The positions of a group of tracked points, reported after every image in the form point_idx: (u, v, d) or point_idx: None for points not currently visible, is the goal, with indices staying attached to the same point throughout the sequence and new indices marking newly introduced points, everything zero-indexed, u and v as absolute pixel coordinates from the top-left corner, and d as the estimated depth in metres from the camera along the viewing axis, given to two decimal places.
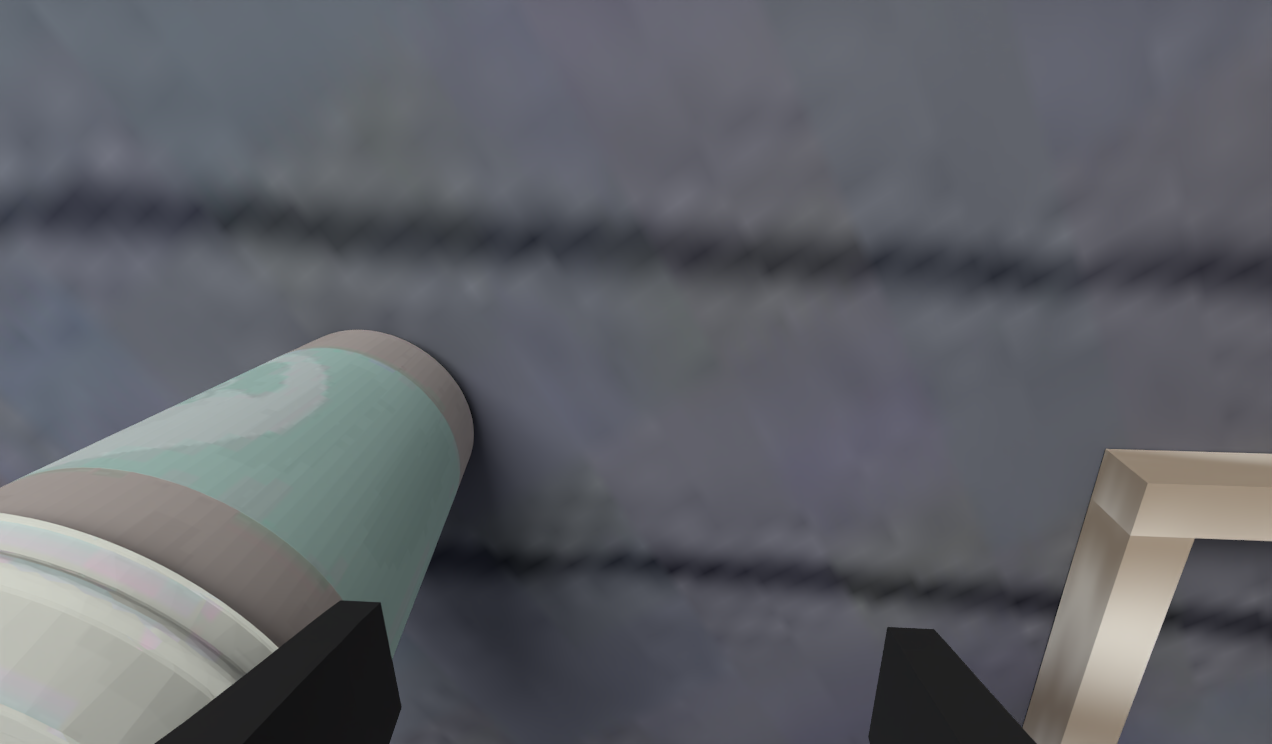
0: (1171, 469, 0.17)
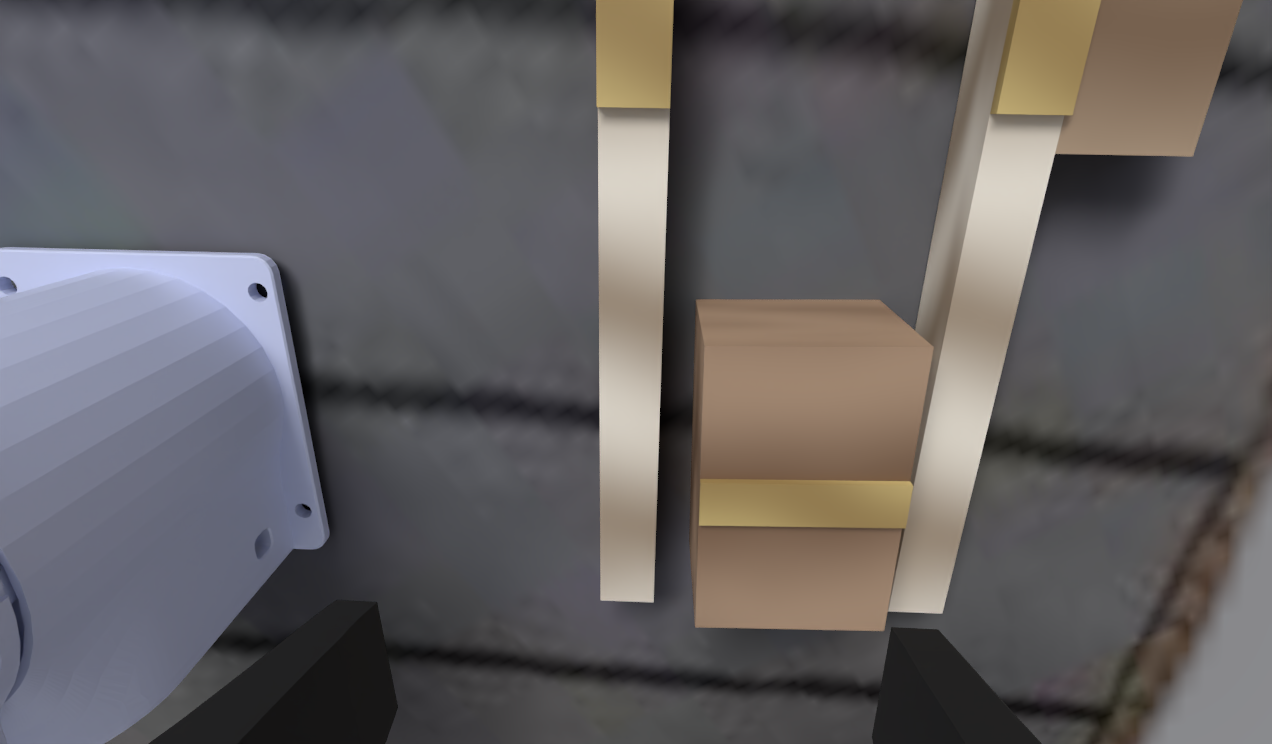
0: None
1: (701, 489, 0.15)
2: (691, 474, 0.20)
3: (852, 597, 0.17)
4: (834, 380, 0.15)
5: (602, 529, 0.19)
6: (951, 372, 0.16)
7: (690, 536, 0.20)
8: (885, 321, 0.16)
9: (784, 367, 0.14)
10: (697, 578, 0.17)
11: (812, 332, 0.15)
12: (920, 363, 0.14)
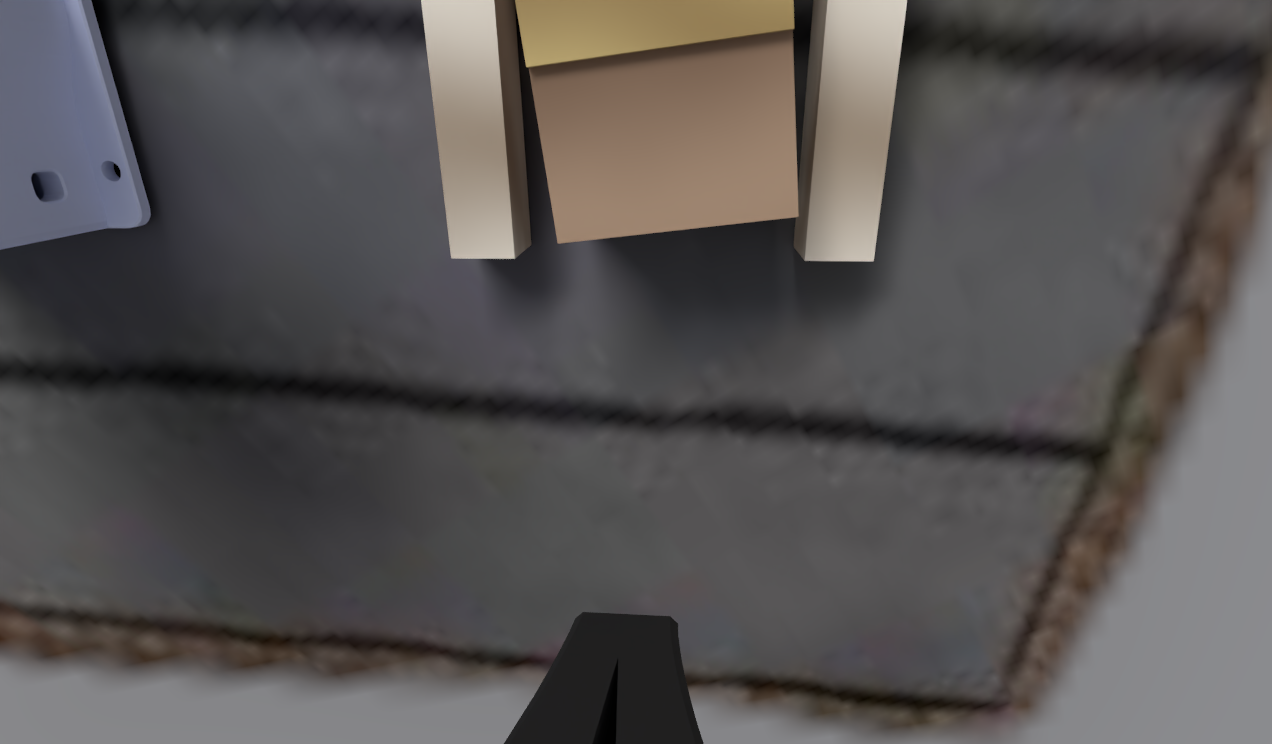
0: None
1: (517, 5, 0.12)
2: None
3: (747, 166, 0.13)
4: None
5: (441, 148, 0.15)
6: None
7: None
8: None
9: None
10: (545, 163, 0.13)
11: None
12: None
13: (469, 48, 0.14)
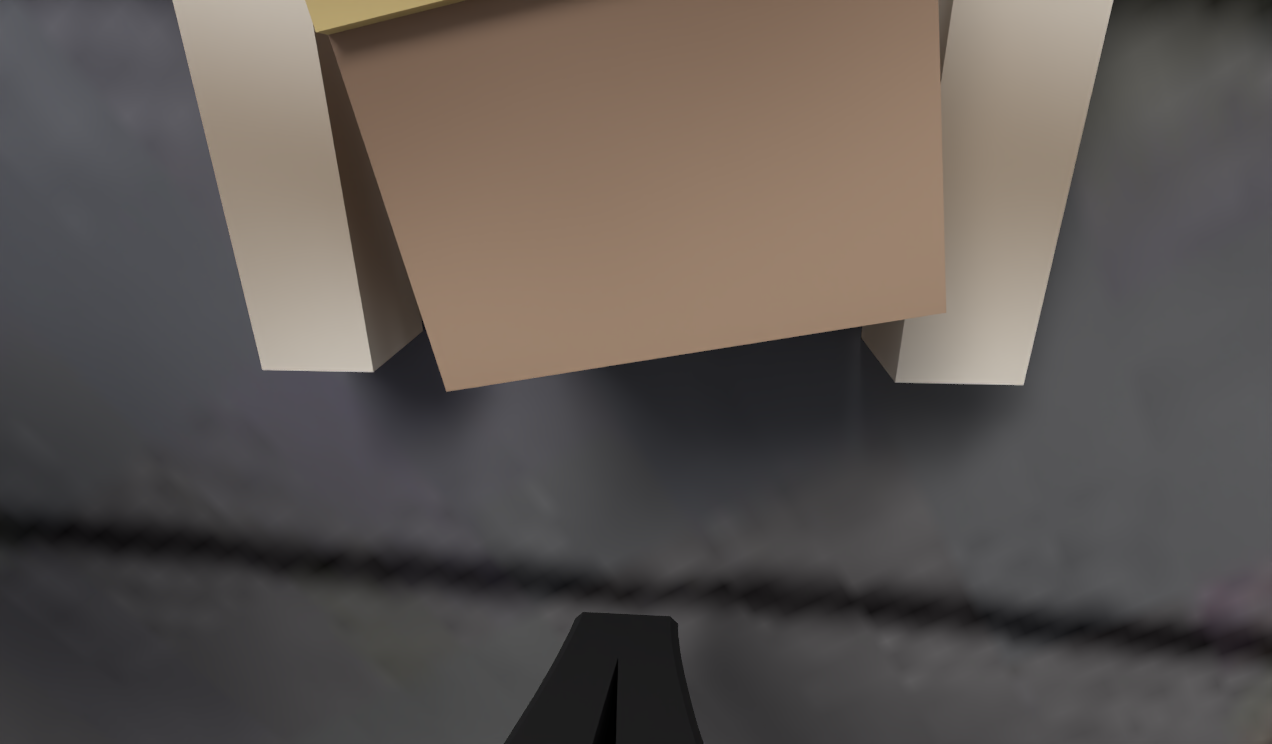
0: None
1: None
2: None
3: (831, 214, 0.06)
4: None
5: (221, 179, 0.08)
6: None
7: None
8: None
9: None
10: (397, 238, 0.06)
11: None
12: None
13: None
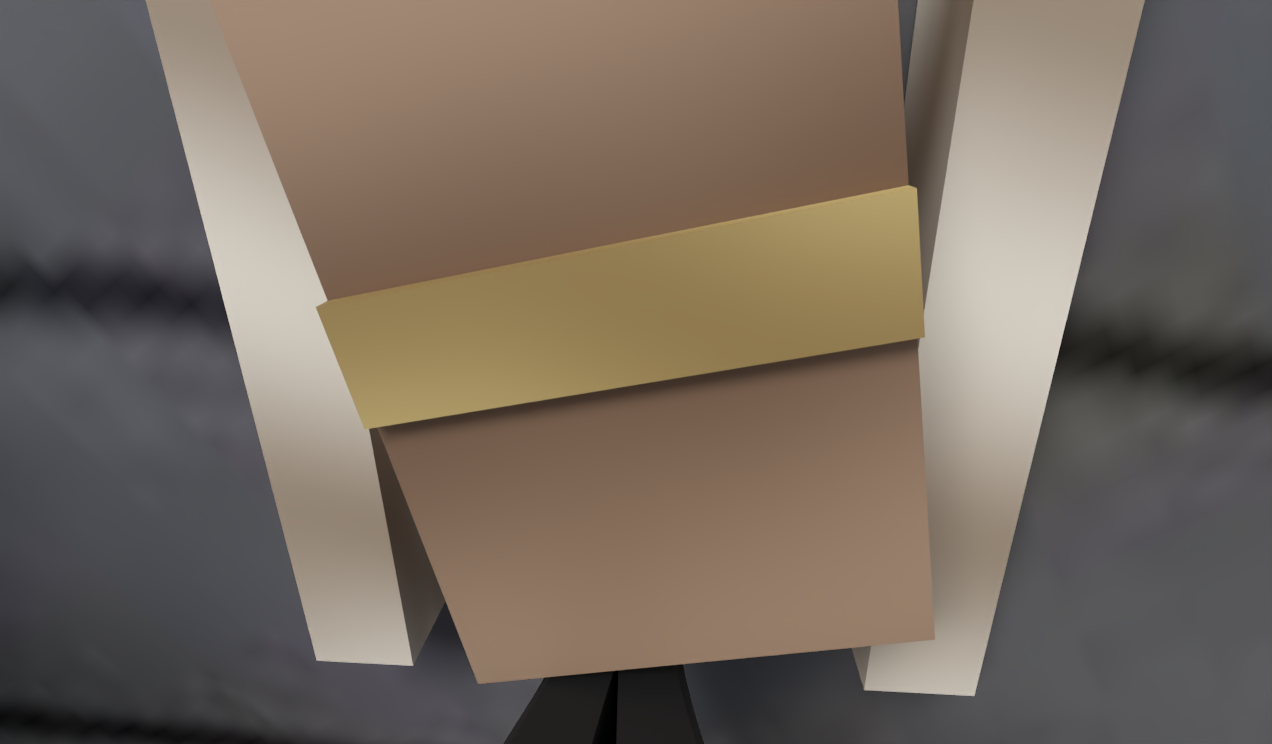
0: None
1: (326, 325, 0.06)
2: None
3: (828, 564, 0.06)
4: None
5: (286, 527, 0.09)
6: (984, 150, 0.07)
7: None
8: None
9: None
10: (434, 569, 0.07)
11: None
12: None
13: (317, 398, 0.09)
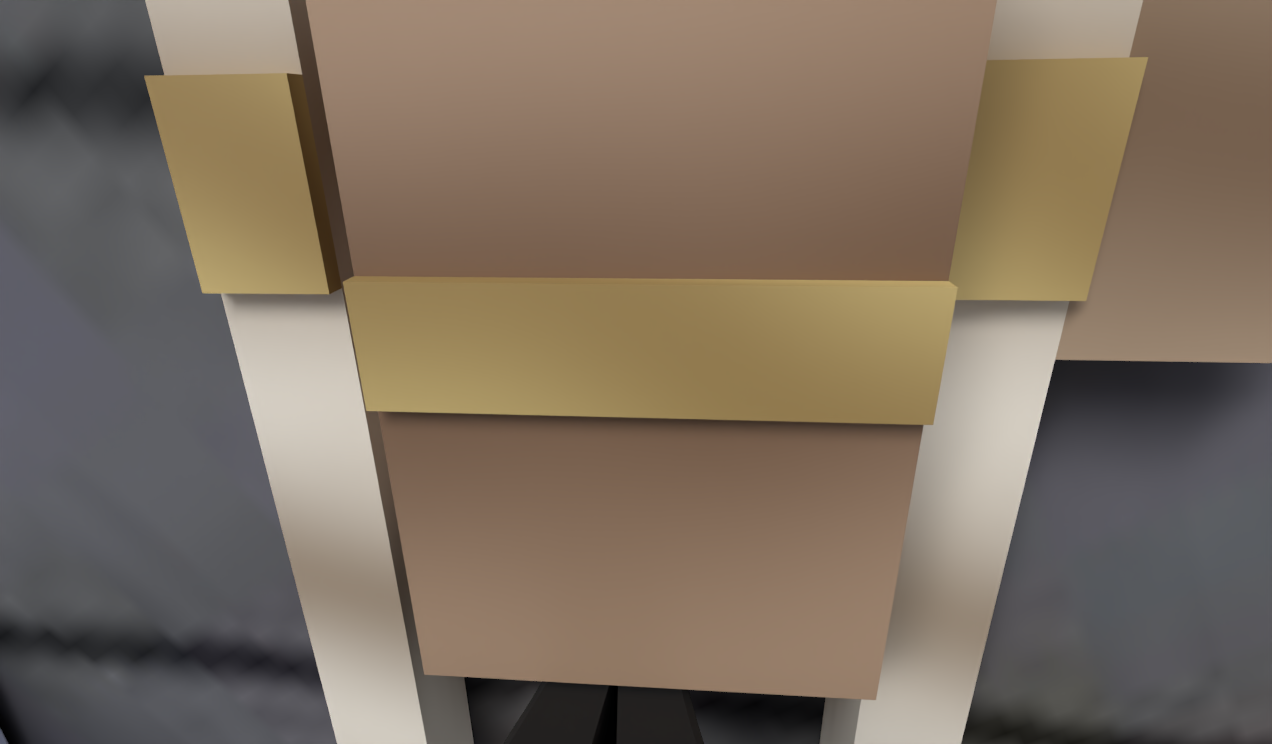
0: None
1: (349, 301, 0.06)
2: None
3: (793, 615, 0.07)
4: None
5: None
6: (887, 688, 0.10)
7: None
8: None
9: None
10: (405, 557, 0.07)
11: None
12: None
13: None
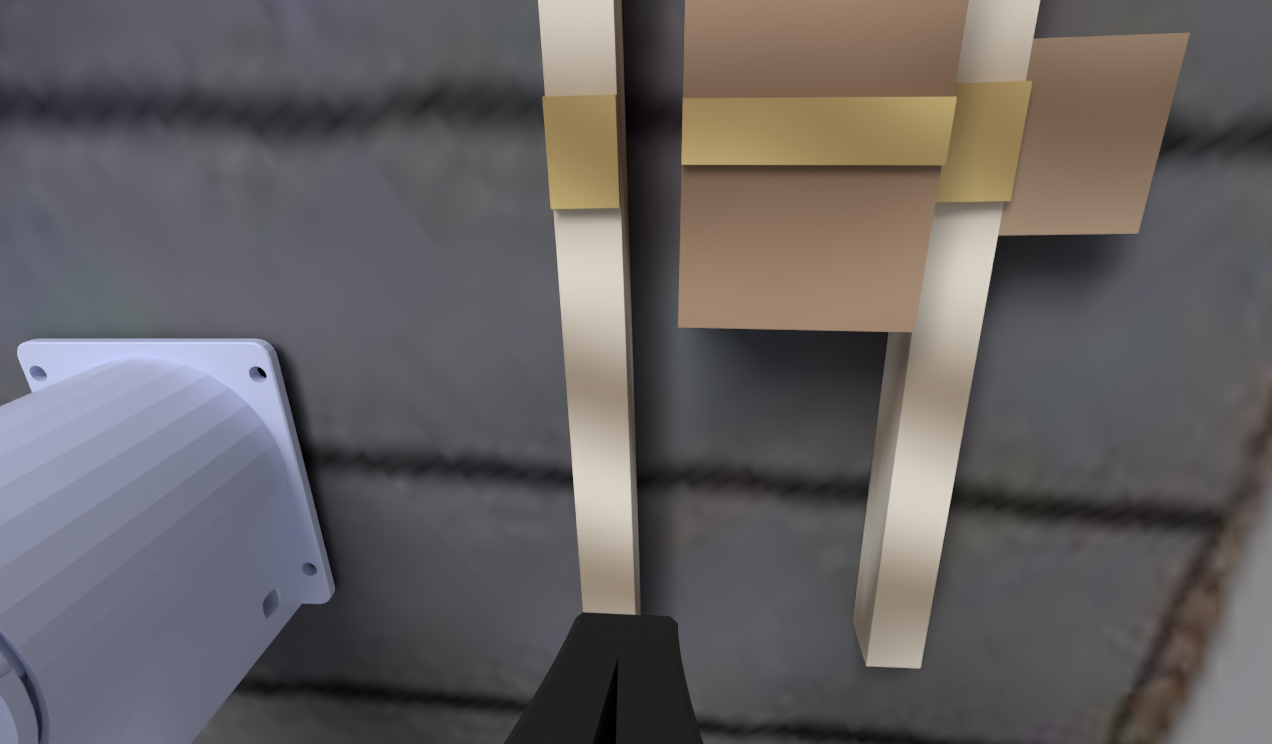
0: None
1: (684, 108, 0.12)
2: None
3: (874, 280, 0.13)
4: None
5: (583, 589, 0.19)
6: (911, 441, 0.17)
7: None
8: None
9: None
10: (680, 253, 0.14)
11: None
12: None
13: (610, 532, 0.19)
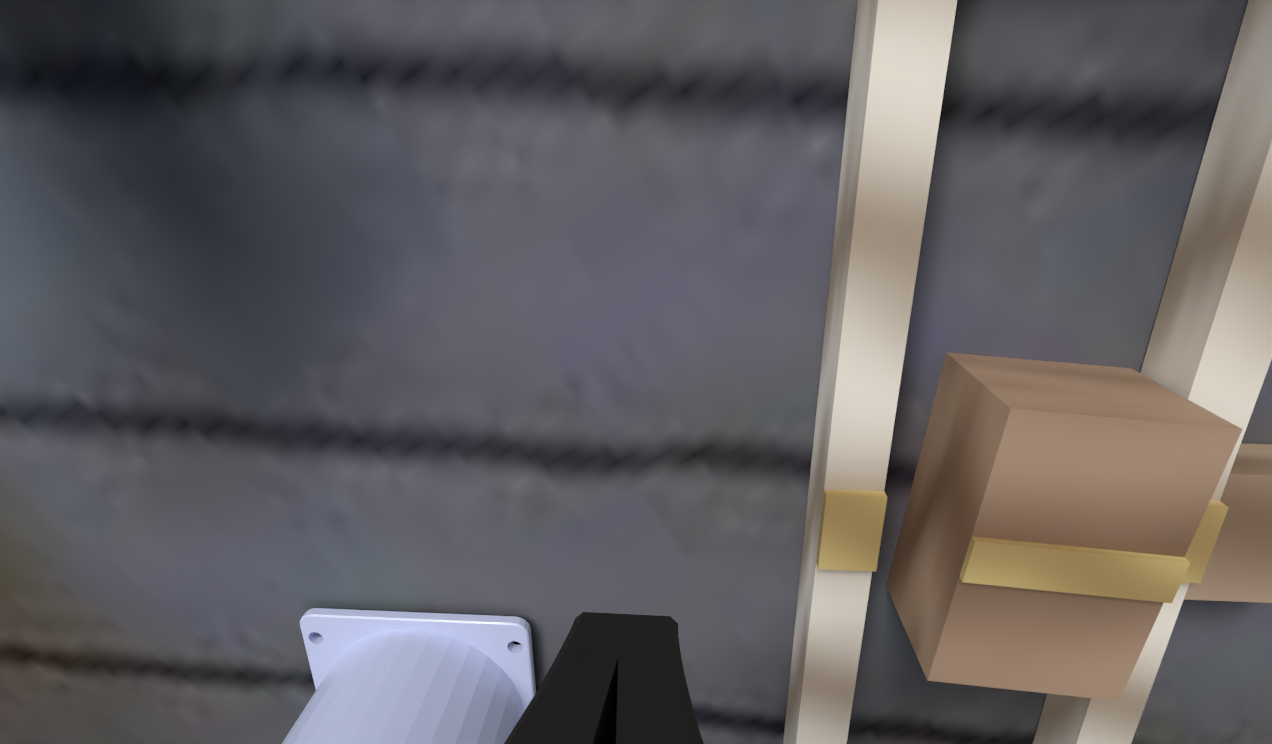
0: None
1: (974, 547, 0.16)
2: (905, 522, 0.20)
3: (1095, 665, 0.17)
4: (1132, 452, 0.15)
5: None
6: (1091, 735, 0.20)
7: (895, 583, 0.20)
8: (1163, 395, 0.16)
9: (1086, 435, 0.15)
10: (942, 633, 0.17)
11: (1102, 400, 0.15)
12: (1224, 443, 0.14)
13: None
